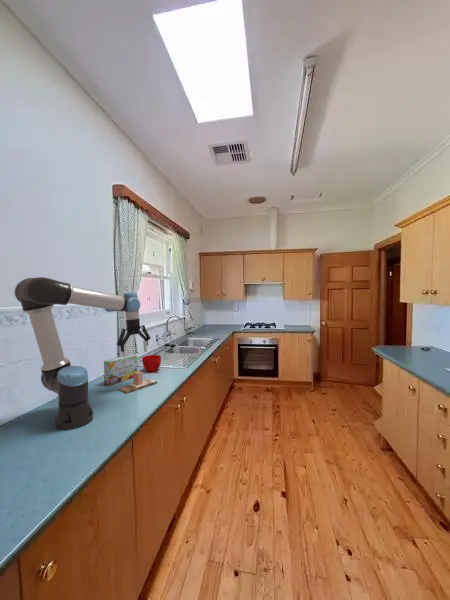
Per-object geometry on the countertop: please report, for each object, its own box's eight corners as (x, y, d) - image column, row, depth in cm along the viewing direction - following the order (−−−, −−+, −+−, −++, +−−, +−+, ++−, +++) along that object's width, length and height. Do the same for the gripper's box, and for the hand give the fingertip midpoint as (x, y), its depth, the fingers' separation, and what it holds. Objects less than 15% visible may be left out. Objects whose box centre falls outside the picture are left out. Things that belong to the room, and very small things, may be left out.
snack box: (109, 386, 164) (108, 361, 164) (103, 384, 167) (103, 360, 167) (137, 376, 182) (137, 354, 182) (132, 375, 185) (131, 353, 185)
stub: (137, 387, 158) (136, 375, 157) (129, 384, 163) (129, 372, 162) (146, 384, 163) (146, 372, 162) (138, 381, 168) (138, 370, 168)
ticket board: (126, 393, 152) (126, 390, 152) (118, 390, 158) (118, 387, 158) (157, 383, 168) (157, 380, 168) (148, 380, 174) (148, 378, 174)
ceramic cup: (151, 376, 183) (151, 361, 183) (139, 371, 195) (138, 357, 194) (168, 371, 192) (167, 357, 192) (154, 367, 204) (154, 354, 204)
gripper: (148, 315, 171) (150, 348, 172) (108, 321, 153) (111, 358, 154) (154, 316, 165) (157, 350, 167) (114, 322, 147) (117, 360, 149)
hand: (135, 354), depth 161 cm, fingers open, 13 cm apart
